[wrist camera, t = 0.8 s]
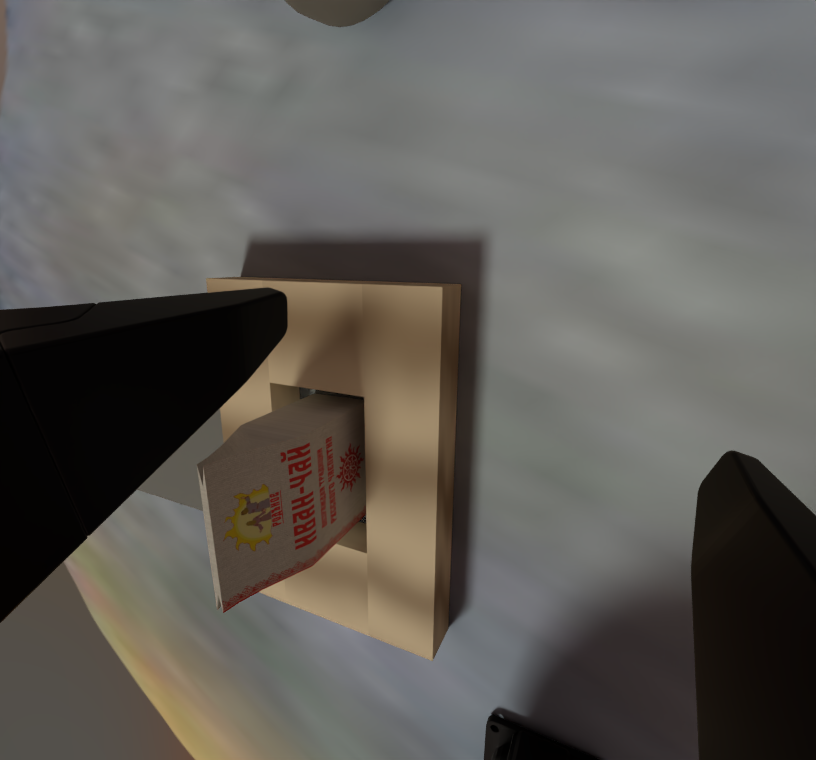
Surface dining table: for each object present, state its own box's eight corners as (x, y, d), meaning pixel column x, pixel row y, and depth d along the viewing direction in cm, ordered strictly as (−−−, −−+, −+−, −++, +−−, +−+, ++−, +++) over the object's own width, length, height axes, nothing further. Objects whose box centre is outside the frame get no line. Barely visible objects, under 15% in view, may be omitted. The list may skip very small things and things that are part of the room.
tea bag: (321, 495, 29) (188, 598, 20) (314, 393, 27) (166, 457, 18) (372, 507, 27) (252, 624, 19) (368, 400, 26) (234, 473, 17)
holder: (448, 628, 27) (432, 660, 25) (264, 562, 33) (238, 584, 30) (461, 284, 22) (442, 286, 20) (239, 276, 27) (206, 278, 25)
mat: (239, 518, 33) (235, 521, 32) (130, 483, 38) (125, 485, 37) (220, 324, 29) (215, 325, 29) (101, 313, 34) (96, 314, 34)
